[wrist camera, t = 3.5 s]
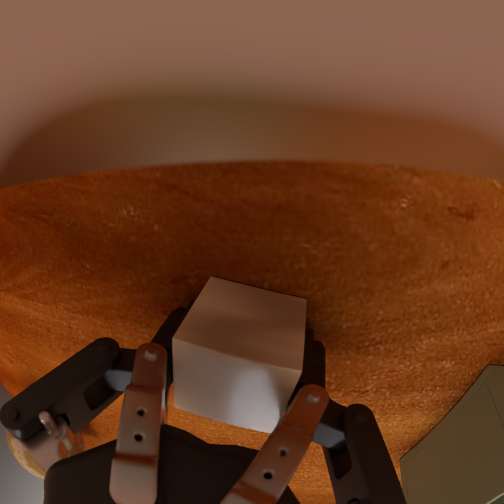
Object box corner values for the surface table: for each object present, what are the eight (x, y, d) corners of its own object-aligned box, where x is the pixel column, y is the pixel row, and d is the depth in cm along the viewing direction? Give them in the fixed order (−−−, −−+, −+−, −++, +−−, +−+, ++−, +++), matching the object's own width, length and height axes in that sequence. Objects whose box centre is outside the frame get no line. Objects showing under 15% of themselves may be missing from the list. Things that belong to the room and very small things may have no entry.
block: (307, 298, 13) (302, 371, 9) (284, 365, 15) (273, 434, 11) (210, 275, 14) (171, 338, 10) (203, 345, 16) (173, 407, 12)
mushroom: (-3, 390, 25) (-16, 443, 14) (50, 364, 32) (55, 411, 20) (36, 444, 28) (45, 506, 16) (86, 419, 34) (110, 477, 22)
